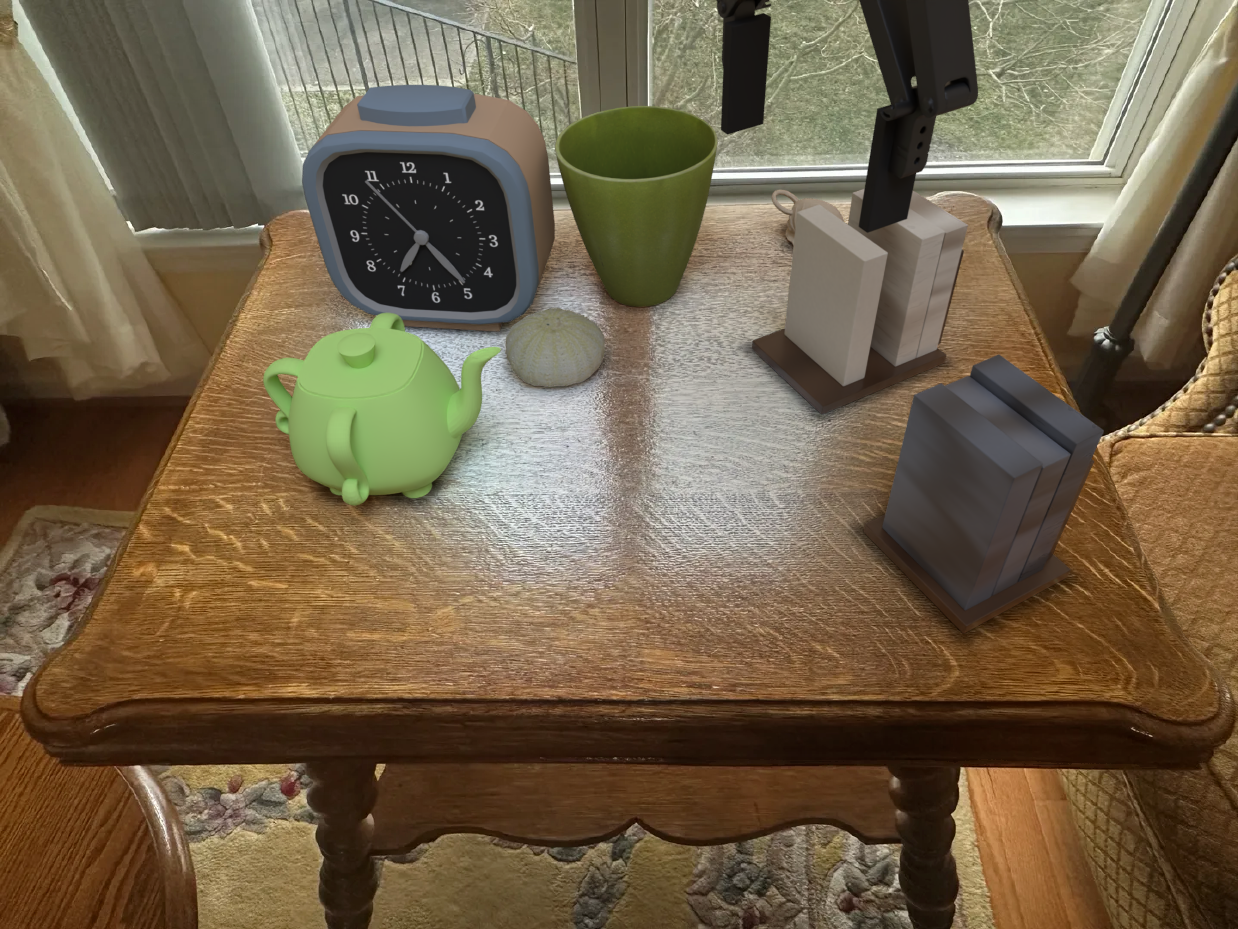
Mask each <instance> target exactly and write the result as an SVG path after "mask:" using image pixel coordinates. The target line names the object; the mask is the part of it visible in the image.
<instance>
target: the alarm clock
mask: <svg viewBox="0 0 1238 929" xmlns="http://www.w3.org/2000/svg"><path fill="white" fill-rule="evenodd" d="M548 154H549V153H548V149H547V144H546V141H545V138H544V135H543V133H542V131H541V129H540V127H539V124H538V123H537V122H536V121H535V120H534V118H533V117H532V115H531V114H530V113H529V112H528V111H527V110H525V108H522V107H521V106H519V105H518V104H517V103H515V102H513V101H512V100H510V99H506V98H501V97H495V96H491V95H485V94H479V93H475V92H474V91H472V89H468V88H463V87H456V86H448V85H440V84H439V85H437V84H436V85H435V84H394V85H393V84H391V85H382V86H372V87H371V86H370V87H369V88H368V90H367V91H366V92H365V94H362V95H357V96H356V97H354V98H353V99H352V100H351V101H349V102H348V103H346V104H345V105H344V106H343V108H342V109H341V110H340V111H339V113H338V114H337V115H336V117H334V119H333V120H332V121H331V123H330V124H329V125H328V127H327V128H326V129H325V130H324V131H323V133H322V134H321V135H320V137H319V138H318V139H317V140H316V141H315V143H314V144H313V145H312V146H311V148H310V149H309V151H308V153H307V155H306V156H305V158H304V161H303V163H302V169H301V170H302V172H301V185H302V190H303V195H304V199H305V202H306V207H307V209H308V213H309V215H310V220H311V223H312V226H313V230H314V233H315V236H316V239H317V242H318V246H319V249H320V253H321V256H322V259H323V262H324V265H325V269H326V270H327V273H328V276H329V278H330V280H331V282H332V284H333V285H334V286H335V288H336V289H337V291H338V292H339V294H340V295H341V296H342V297H343V298H344V299H345V300H346V301H347V302H348V303H349V304H350V305H352V306H353V307H355V308H357V309H359V310H361V311H363V312H364V313H366V314H368V315H373V316H377V315H379V314H381V313H393V314H397V315H398V316H400V317H401V319H402V320H403V323H404V327H417V328H430V329H449V330H464V331H465V330H466V331H467V330H468V331H485V332H501V329H502V326H503V323H510V322H512V321H514V320H516V319H518V318H520V317H521V316H523V315H525V314H526V312H527V311H528V310H529V309H530V307H531V306H532V305H533V303H534V301H535V299H536V295H537V292H538V290H539V287H540V283H541V281H542V278H543V275H544V273H545V271H546V270H545V269H546V267H547V264H548V261H549V258H550V255H551V253H552V250H553V246H554V243H555V238H556V237H555V236H556V224H555V213H554V212H555V211H554V202H553V192H552V182H551V181H552V180H551V172H550V171H551V170H550V160H549V155H548Z"/></svg>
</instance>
